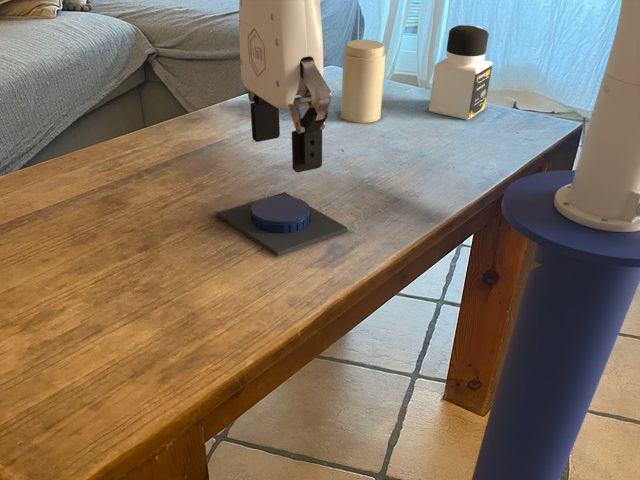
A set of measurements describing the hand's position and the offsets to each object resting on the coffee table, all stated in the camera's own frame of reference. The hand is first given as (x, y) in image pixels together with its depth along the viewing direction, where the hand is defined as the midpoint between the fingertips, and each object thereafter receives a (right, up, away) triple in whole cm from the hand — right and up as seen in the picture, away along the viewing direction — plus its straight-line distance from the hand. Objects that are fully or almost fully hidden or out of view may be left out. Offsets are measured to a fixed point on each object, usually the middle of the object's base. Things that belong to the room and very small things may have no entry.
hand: (286, 153), depth 72 cm
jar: (+10, +20, +34) cm, 41 cm away
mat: (-1, -6, +5) cm, 8 cm away
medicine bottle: (+26, +22, +37) cm, 51 cm away
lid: (-1, -5, +4) cm, 7 cm away
